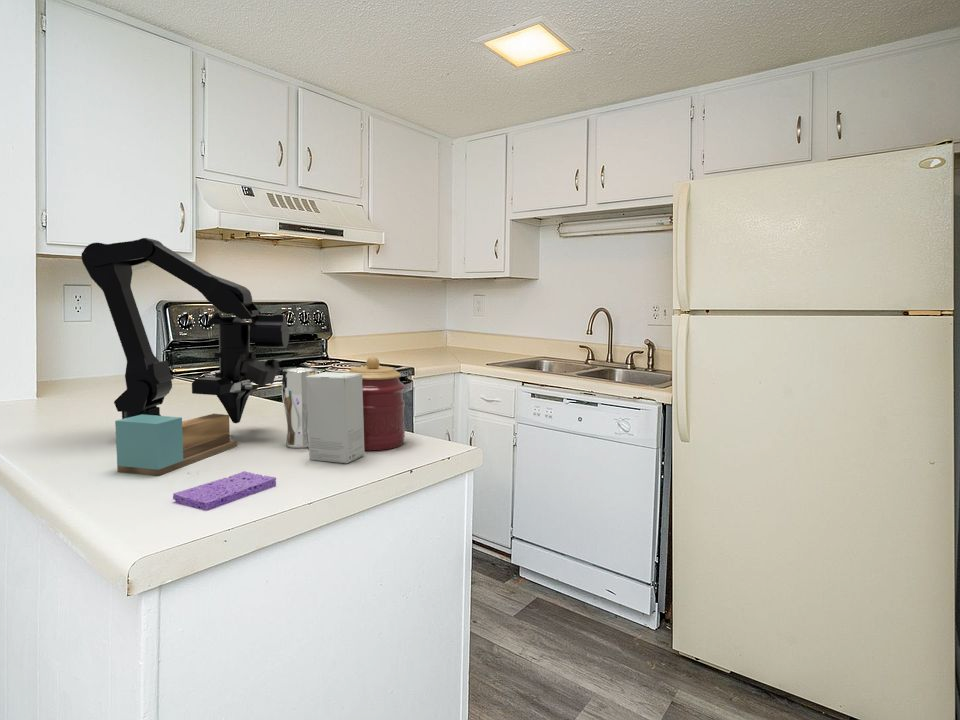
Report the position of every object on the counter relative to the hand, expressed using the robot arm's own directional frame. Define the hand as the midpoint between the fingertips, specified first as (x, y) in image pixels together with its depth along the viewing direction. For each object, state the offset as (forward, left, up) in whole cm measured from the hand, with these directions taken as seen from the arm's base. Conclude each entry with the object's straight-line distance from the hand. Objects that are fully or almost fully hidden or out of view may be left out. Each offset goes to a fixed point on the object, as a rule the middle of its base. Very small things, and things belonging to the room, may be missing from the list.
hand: (236, 422), depth 118 cm
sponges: (+20, -30, -4) cm, 36 cm away
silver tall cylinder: (+15, -1, -3) cm, 15 cm away
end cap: (0, -23, -2) cm, 23 cm away
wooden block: (0, -12, -2) cm, 12 cm away
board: (0, -16, -3) cm, 16 cm away
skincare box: (+26, -8, -4) cm, 27 cm away
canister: (+28, +4, -4) cm, 29 cm away
